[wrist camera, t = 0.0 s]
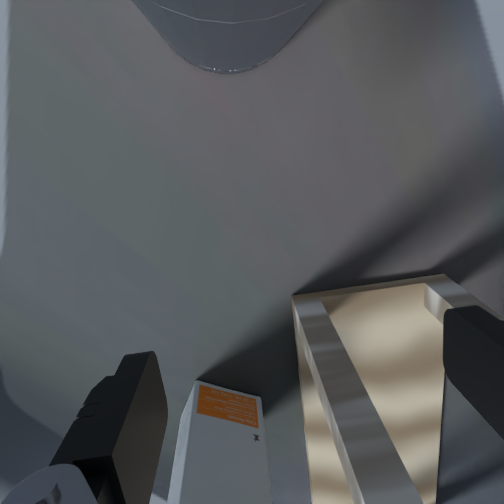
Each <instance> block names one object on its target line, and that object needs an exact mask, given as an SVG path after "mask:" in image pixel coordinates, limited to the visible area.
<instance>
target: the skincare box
mask: <svg viewBox="0 0 504 504" xmlns="http://www.w3.org/2000/svg"><path fill="white" fill-rule="evenodd" d="M167 504H273V503H272V494H271V484H270V476H269V467H268V457H267V448H266V439H265V430H264V421H263V412H262V402H261V397H259V396H254V395H249V394H246V393H242V392H238V391H234V390H230V389H226V388H223V387H219V386H216V385H212V384H209V383H205V382H202V381H198V380H196V381H195V383H194V386H193V389H192V391H191V394H190V396H189V398H188V401H187V403H186V406H185V408H184V411H183V413H182V416H181V420H180V426H179V433H178V439H177V445H176V452H175V458H174V464H173V471H172V477H171V483H170V490H169V496H168V502H167Z"/></svg>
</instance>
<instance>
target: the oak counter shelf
mask: <svg viewBox="0 0 504 504" xmlns="http://www.w3.org/2000/svg"><path fill="white" fill-rule="evenodd" d="M291 300H292V310H293V320H294V330H295V340H296V349H297V359H298V369H299V379H300V389H301V399H302V409H303V419H304V429H305V439H306V449H307V459H308V469H309V479H310V489H311V499H312V504H436V489H437V475H438V460H439V445H440V430H441V416H442V401H443V386H444V372H445V369H444V365H443V318H444V313H445V311H446V310H447V309H451V308H458V307H465V306H472V305H478V306H480V307H481V308H483V309H484V310H486V311H487V312H489V313H490V314H492V315H493V316H495V317H496V318H498V319H500V320H503V321H504V318H503V317H501V316H500V315H499V314H497V313H496V312H495V311H493V310H492V309H491V308H489V307H488V306H487V305H485V304H484V303H482V302H481V301H480V300H478V299H477V298H476V297H474V296H473V295H472V294H470V293H469V292H468V291H466V290H465V289H464V288H462V287H461V286H460V285H458V284H457V283H455V282H454V281H453V280H451V279H450V278H449V277H447V276H446V275H445V274H438V275H431V276H424V277H417V278H410V279H403V280H396V281H389V282H382V283H376V284H369V285H362V286H355V287H348V288H341V289H334V290H327V291H320V292H313V293H306V294H299V295H292V296H291Z"/></svg>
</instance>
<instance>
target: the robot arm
mask: <svg viewBox="0 0 504 504" xmlns="http://www.w3.org/2000/svg"><path fill="white" fill-rule="evenodd" d="M323 1H324V0H132V2H133V3H134V4H135V5H136V6H137V8H138V9H139V10H140V11H141V12H142V13H143V15H144V16H145V17H146V18H147V19H148V21H149V22H150V23H151V24H152V25H153V27H154V28H155V29H156V30H157V32H158V33H159V34H160V35H161V36H162V37H163V38H164V40H165V41H166V42H167V43H168V44H169V45H170V46H171V47H172V49H173V50H174V51H175V52H176V53H177V54H178V55H180V56H181V57H182V58H184V59H185V60H186V61H188V62H189V63H191V64H193V65H195V66H197V67H199V68H201V69H203V70H206V71H211V72H215V73H220V74H235V73H241V72H244V71H248V70H252V69H254V68H256V67H258V66H260V65H262V64H264V63H266V62H267V61H268V60H269V59H271V58H272V57H273V56H274V55H275V54H277V53H278V52H279V51H280V50H281V48H282V47H283V46H284V45H285V44H286V43H287V42H288V41H289V40H290V39H291V37H292V36H293V35H294V34H295V33H296V32H297V31H298V29H299V28H300V27H301V26H302V25H303V24H304V22H305V21H306V20H307V19H308V18H309V17H310V16H311V14H312V13H313V12H314V11H315V10H316V9H317V8H318V6H319V5H320V4H321V3H322V2H323ZM443 365H444V369H445V372H446V374H447V376H448V378H449V380H450V381H451V383H452V384H453V385H454V386H455V387H456V388H457V389H458V390H459V391H460V392H461V394H462V395H463V396H464V397H465V398H466V399H467V400H468V401H469V402H470V403H471V404H472V406H473V407H474V408H475V409H476V410H477V411H478V412H479V413H480V414H481V415H482V416H483V418H484V419H485V420H486V421H487V422H488V423H489V424H490V425H491V426H492V427H493V429H494V430H495V431H496V432H497V433H498V434H499V435H500V436H501V437H502V438H503V439H504V321H503V320H500V319H498V318H496V317H495V316H493V315H492V314H490V313H489V312H487V311H486V310H484V309H483V308H481V307H480V306H478V305H472V306H465V307H458V308H451V309H447V310H446V311H445V313H444V318H443ZM167 418H168V408H167V399H166V395H165V391H164V386H163V382H162V378H161V373H160V369H159V365H158V360H157V357H156V354H155V353H154V351H149V352H142V353H135V354H128V355H125V356H124V357H123V359H122V361H121V363H120V365H119V367H118V369H117V371H116V373H115V375H113V376H106V377H105V378H104V379H103V380H102V381H101V382H100V383H98V384H97V385H96V386H95V387H94V388H93V389H92V390H91V391H90V393H89V395H88V397H87V398H86V400H85V402H84V404H83V408H81V409H80V411H79V413H78V415H77V416H76V421H74V422H73V424H72V425H71V427H70V429H69V431H68V433H67V434H66V436H65V438H64V440H63V441H62V443H61V445H60V447H59V449H58V450H57V452H56V454H55V456H54V458H53V459H52V461H51V463H50V465H49V467H46V468H44V469H41V470H39V471H37V472H35V473H33V474H32V475H30V476H29V477H27V478H26V479H24V480H23V481H22V482H20V483H19V484H18V485H17V486H16V487H15V488H13V489H12V490H11V492H10V493H9V494H8V495H7V496H6V497H5V499H4V500H3V501H2V503H1V504H149V501H150V497H151V493H152V488H153V484H154V479H155V475H156V470H157V466H158V461H159V457H160V452H161V448H162V443H163V439H164V434H165V430H166V425H167Z"/></svg>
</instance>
